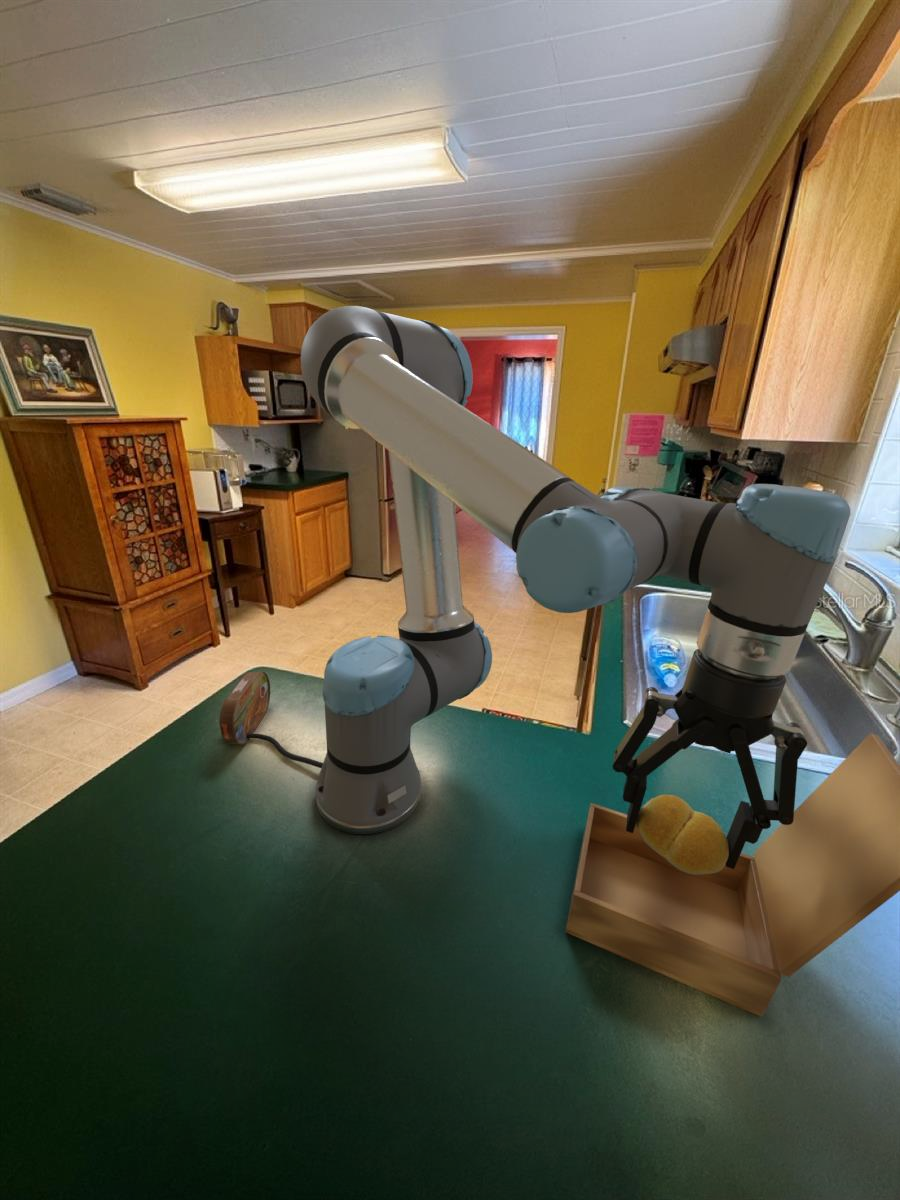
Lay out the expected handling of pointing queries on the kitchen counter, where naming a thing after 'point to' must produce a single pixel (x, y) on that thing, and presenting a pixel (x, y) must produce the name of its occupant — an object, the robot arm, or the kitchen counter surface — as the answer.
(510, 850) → the kitchen counter surface
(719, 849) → the bread roll
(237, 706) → the tin
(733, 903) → the bread box
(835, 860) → the bread box lid
